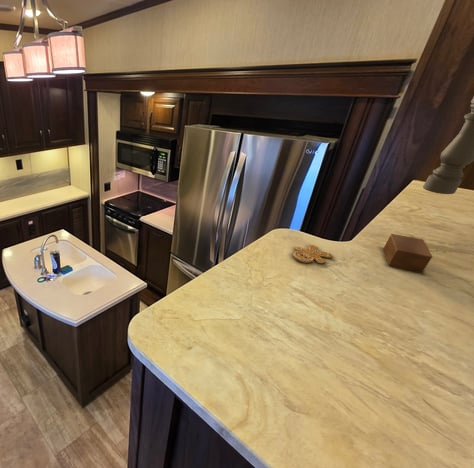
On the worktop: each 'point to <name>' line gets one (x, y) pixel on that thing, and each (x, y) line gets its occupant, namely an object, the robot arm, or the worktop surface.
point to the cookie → (310, 254)
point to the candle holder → (454, 159)
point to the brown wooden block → (407, 253)
